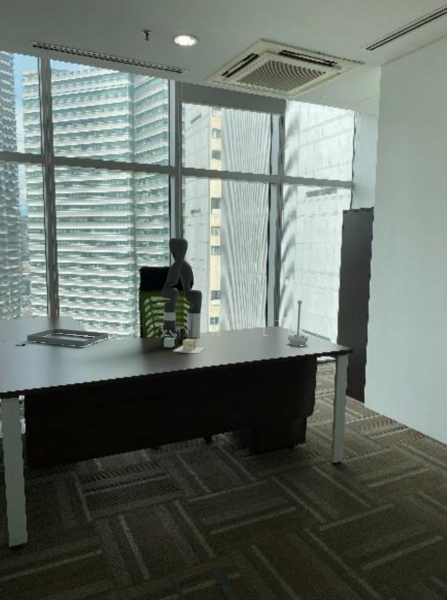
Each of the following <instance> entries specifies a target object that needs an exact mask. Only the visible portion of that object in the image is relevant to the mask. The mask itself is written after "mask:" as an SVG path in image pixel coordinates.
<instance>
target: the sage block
mask: <svg viewBox="0 0 447 600" xmlns="http://www.w3.org/2000/svg"><path fill="white" fill-rule="evenodd" d="M174 346H175V345H174V338H173V337H164V344H163V347H164V348H173V347H174Z"/></svg>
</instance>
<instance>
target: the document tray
mask: <svg viewBox="0 0 447 600" xmlns="http://www.w3.org/2000/svg"><path fill="white" fill-rule="evenodd" d="M53 333H63V334H76V335H88V336H95V337H94V338H87V339H85V340H79V339H71V338H59V337H52V336H47V337H43V336H46V335H49V334H53ZM26 338H27V339H26V341H36V342H45V343H55V344H64V345H75V346H86V345H88V344H91V343H93V342H95V341H97V340H99V339H105V338H107V339H108V340H109V333H107V332H96V331H95V332H94V331H88V330H87V331H86V330H77V329H68V328H66V329H65V328H56V327H54V328H51V329H46V330H44V331H43V330H42V331H39V332H36V333H31V334H27V335H26ZM36 342H35V343H36ZM45 343H44V344H45Z"/></svg>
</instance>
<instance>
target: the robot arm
mask: <svg viewBox="0 0 447 600" xmlns="http://www.w3.org/2000/svg"><path fill="white" fill-rule="evenodd" d="M168 247H169V250H170V254H171V256H172V258H173V260H174V261H173V263H172V264H171V266H170V267H169V269H168V272H167V277H166V281H165V283H164V285H163V288H162V289H161V296H162V298H163V299H167V300H168V299H169V301H168V302H165V303H164V304H163V307H164V310H163V326H160V327H158V334H157V336H158V337H159V338H160V342H161V344H162V345H164V339H165V336H173V337H174V346H177V344H178V343H177V339H178V338H180V329H176V328H175V326H176V322H177V321H176V316H177V315H176V304H177V301H178V298H179V290H178V289H177V288H176V287H172V286H175V285H177V284H178V283H179V278H180V282H181V285H182V289H183V294H184V298H185V301H186V302H187V303H190V304H193V306H192V307H188V308H187V311H186V313H187V315H186V317H187V318H186V319H187V321H186V329H189V330H190V334H189V330H186V335H188V334H189V335H188V336H186V338H188V339H198V338H201V317H202V316H201V315H202V314H201V312H202V303H203V293H202V291H201V290H198V289H192V288H191V282H192V280H193V277H194V272H193V268H192V266H191V264H190V263H189V262H188V260H186V258H185V257H186V254H187V251H188V247H189V242H188V240H187V239H186V238H183V237H181V238H180V237H172V238H170V239H169V242H168ZM175 331H176V332H177V335H176V333H175ZM173 337H172V338H173Z"/></svg>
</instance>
